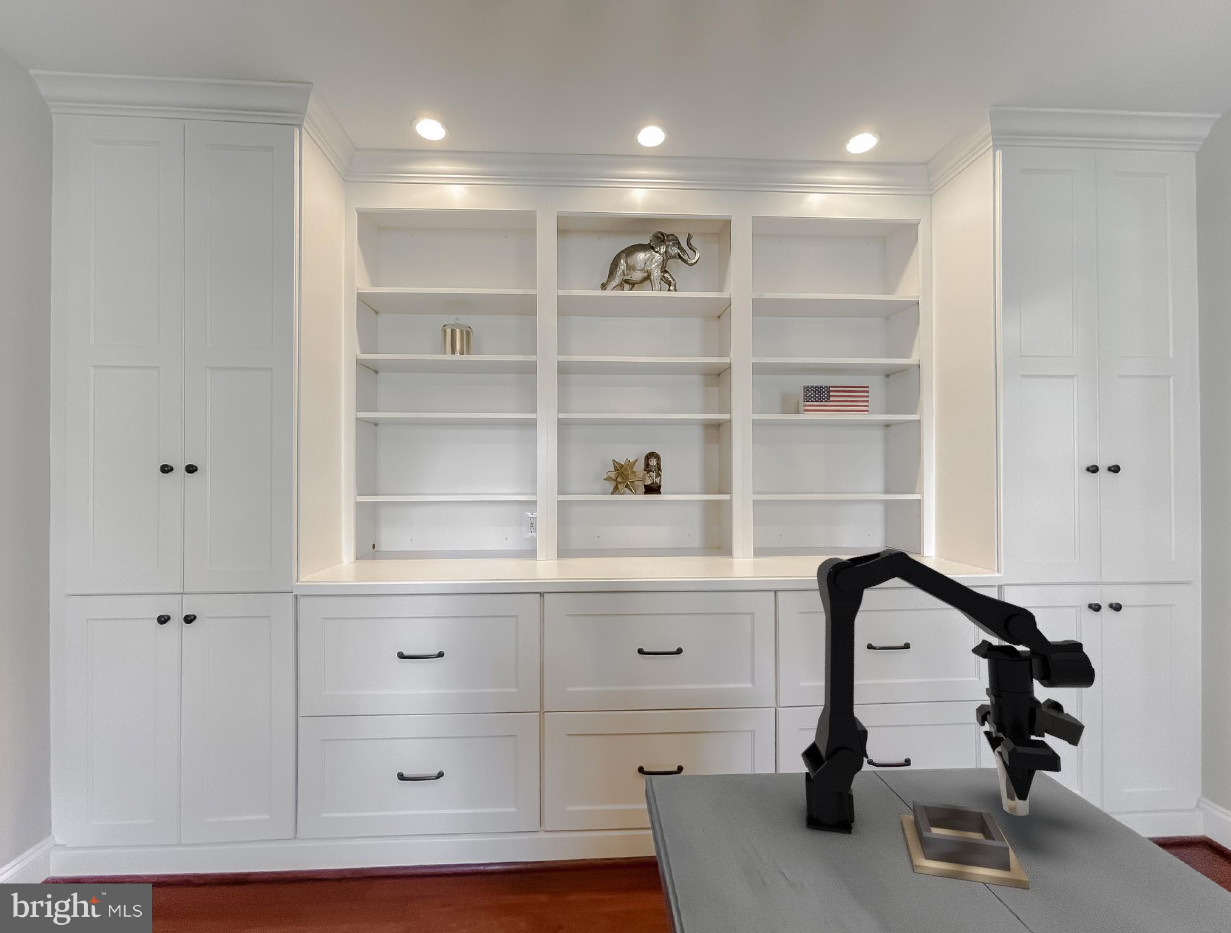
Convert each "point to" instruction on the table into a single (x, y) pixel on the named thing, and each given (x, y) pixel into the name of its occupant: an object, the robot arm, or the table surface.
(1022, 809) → the milkshake
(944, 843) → the dock
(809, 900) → the table surface
